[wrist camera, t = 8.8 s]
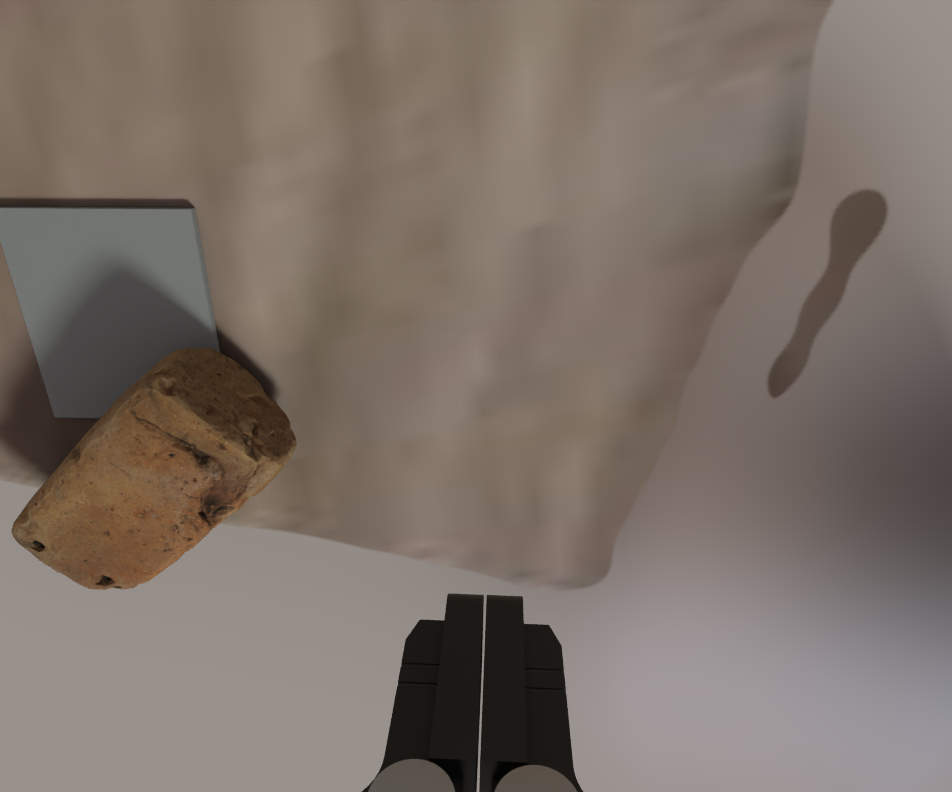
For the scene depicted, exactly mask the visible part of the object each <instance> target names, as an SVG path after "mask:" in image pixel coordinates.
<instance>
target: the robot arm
mask: <svg viewBox="0 0 952 792" xmlns="http://www.w3.org/2000/svg"><path fill="white" fill-rule="evenodd" d="M483 603H484V596H483V595H470V594H448V596H447V605H446V613H445V621H440V620H439V621H438V620H419V622H418V623H417V625H416V626H415V627H414V629H413V630H412V632H411V633H410V634H409V636H408V637H407V639H406V641H405V647H404V652H403V658H402V666H401V669H400V674H399V680H398V686H397V691H396V696H395V702H394V707H393V713H392V718H391V724H390V729H389V735H388V740H387V746H386V751H385V757H384V760H383V764H382V767H381V769H380V771H379V773H378V774H377V776H376V777H375V779H374V780H373V781H372V782H371V784H370V785H369V786H368V787H367V788H365V789H364V790H363V791H362V792H476V789H477V766H478V742H479V719H480V696H481V673H482V640H483ZM479 792H583V791H582V789H581V788H580V786H579V784H578V782H577V779H576V777H575V773H574V768H573V760H572V749H571V740H570V728H569V718H568V708H567V698H566V687H565V677H564V667H563V657H562V647H561V644H560V643H559V641H558V640H557V638H556V636H555V634H554V633H553V631H552V629H551V628H550V627H549V625H537V624H524V620H523V597H522V596H499V595H487V605H486V630H485V656H484V680H483V706H482V732H481V756H480V791H479Z"/></svg>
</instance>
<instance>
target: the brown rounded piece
mask: <svg viewBox="0 0 952 792" xmlns="http://www.w3.org/2000/svg"><path fill="white" fill-rule="evenodd" d="M295 446H296V438H295V435H294V433H293V431H292V430H291V428H290V421H289V419H288V418H287V416H286V414H285V413H284V412H283V411H282V410H281V408H280V407H279V406H278V404H277V403H276V402H275V401H274V400H273V399H271V398H269V397H268V396H267V395H266V393H265V392H264V390H263V388H262V386H261V384H260V383H259V382H258V381H257V380H256V379H255V378H254V377H253V376H252V375H251V374H250V373H249V372H248V371H247V370H246V369H245V368H243V367H242V366H241V365H239V364H238V363H237V362H235V361H234V360H233V359H231V358H229V357H227V356H225V355H223V354H221V353H220V352H218V351H217V350H214V349H211V348H207V347H204V348H196V349H193V348H184V349H178V350H175V351H173V352H171V353H170V354H168V355H167V356H165V357H164V358H163V359H161V360H160V361H159V362H158V363H157V364H156V365H155V366H153V367H152V368H151V369H150V370H149V371H148V372H146V373H145V374H144V375H143V376H142V377H141V378H140V379H139V380H137V381H136V382H135V383H134V384H133V385H132V386H131V387H130V388H128V389H127V390H126V391H125V392H124V393H123V394H122V395H121V396H120V397H119V398H118V399H117V400H116V401H115V402H114V403H113V404H112V406H111V407H110V408H109V409H108V410H107V411H106V412H105V413H104V415H103V416H102V417H101V418H100V419H99V420H98V421H97V422H96V423H95V424H94V425H93V426H92V427H91V428H90V430H89V431H88V432H87V433H86V434H85V435H84V437H83V438H82V439H81V440H80V441H79V442H78V443H77V445H76V446H75V448H74V449H73V450H72V451H71V452H70V453H69V454H68V455H67V457H66V458H65V459H64V460H63V462H62V463H61V464H60V466H59V467H58V468H57V469H56V470H55V471H54V473H53V474H52V475H51V476H50V477H49V478H48V479H47V481H46V482H45V483H44V484H43V485H42V487H41V488H40V489H39V490H38V491H37V492H36V494H35V495H34V496H33V497H32V499H31V500H30V501H29V503H28V504H27V505H26V507H25V508H24V510H23V511H22V512H21V514H20V515H19V516H18V518H17V519H16V521H15V522H14V525H13V528H12V534H13V537H14V538H15V540H16V541H17V542H18V543H19V544H20V545H22V546H23V547H24V548H25V549H27V550H28V551H29V552H31V553H32V554H33V555H34V556H35V557H36V558H38V559H39V560H40V561H42V562H43V563H44V564H46V565H48V566H49V567H51V568H53V569H54V570H55V571H56V572H59V573H62V574H64V575H65V576H67V577H69V578H70V579H72V580H73V581H75V582H76V583H78V584H80V585H82V586H84V587H87V588H89V589H102V590H103V589H104V590H105V589H109V588H118V589H128V588H134V587H135V586H137V585H138V584H141V583H145V582H147V581H149V580H151V579H152V578H154V577H155V576H156V575H158V574H159V573H160V572H162V571H163V570H164V569H166V568H167V567H168V566H170V565H171V564H173V563H174V562H175V561H177V560H178V559H179V558H180V557H181V556H182V555H183V554H184V553H185V552H186V551H189V550H190V549H191V548H193V547H194V546H195V545H196V544H197V543H198V542H200V541H201V540H202V539H203V538H204V537H205V536H206V535H207V534H208V533H209V531H211V530H212V529H213V528H214V527H215V526H217V525H218V524H219V523H220V522H222V521H223V520H224V519H226V518H227V517H228V516H229V515H231V514H232V513H234V512H235V511H237V510H238V509H239V508H240V507H241V506H243V504H244V503H245V502H246V501H247V499H248V498H249V497H250V496H255V495H256V494H258V493H259V492H260V491H262V490H263V489H264V488H265V487H266V486H267V485H268V484H269V483H270V482H271V481H272V480H273V479H274V477H275V476H276V475H277V474H278V473H279V472H280V470H281V469H282V468H283V467H284V465H285V464H286V463H287V461H288V460H289V459H290V457H291V456H292V453H293V451H294V449H295Z"/></svg>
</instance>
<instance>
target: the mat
mask: <svg viewBox="0 0 952 792" xmlns="http://www.w3.org/2000/svg"><path fill="white" fill-rule="evenodd" d="M0 241H1V245H2V248H3V251H4V254H5V258H6V261H7V264H8V267H9V271H10V274H11V277H12V281H13V284H14V287H15V290H16V294H17V297H18V300H19V303H20V307H21V310H22V313H23V316H24V320H25V323H26V326H27V329H28V333H29V336H30V339H31V342H32V346H33V349H34V352H35V356H36V359H37V362H38V365H39V369H40V372H41V375H42V378H43V382H44V385H45V388H46V391H47V395H48V398H49V401H50V404H51V408H52V411H53V414H54V417H55V418H101V417H102V416H103V415H104V413H105V412H106V411H107V410H108V409H109V408H110V407H111V406H112V404H113V403H114V402H115V401H116V400H117V399H118V398H119V397H120V396H121V395H122V394H123V393H124V392H125V391H126V390H127V389H128V388H130V387H131V386H132V385H133V384H134V383H135V382H136V381H137V380H139V379H140V378H141V377H142V376H143V375H144V374H145V373H146V372H148V371H149V370H150V369H151V368H152V367H153V366H155V365H156V364H157V363H158V362H159V361H160V360H161V359H163V358H164V357H165V356H167V355H168V354H170V353H171V352H173V351H175V350H178V349H184V348H193V349H196V348H204V347H207V348H211V349H214V350H217V351H218V352H220V347H219V341H218V336H217V330H216V325H215V319H214V313H213V308H212V302H211V297H210V291H209V285H208V280H207V274H206V268H205V263H204V257H203V252H202V246H201V240H200V235H199V229H198V223H197V218H196V212H195V208H156V207H0Z"/></svg>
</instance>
